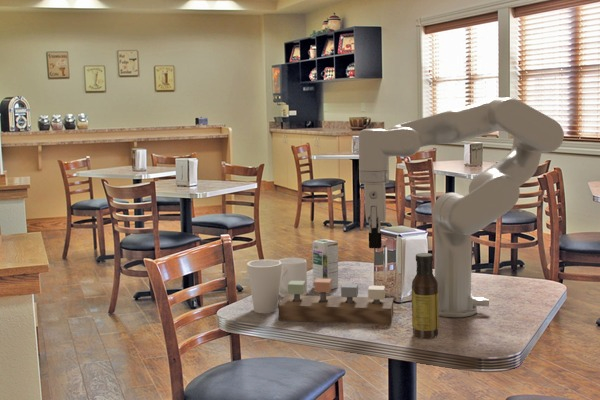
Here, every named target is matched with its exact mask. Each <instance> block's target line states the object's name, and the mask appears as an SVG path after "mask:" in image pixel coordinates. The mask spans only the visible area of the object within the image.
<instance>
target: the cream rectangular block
mask: <svg viewBox="0 0 600 400" xmlns="http://www.w3.org/2000/svg"><path fill="white" fill-rule="evenodd" d="M385 286H386V285H369V286H368V289H367V291H368V293H367V294H368V296H367V297H368V299H374V304H380V300H384V298H386V287H385Z"/></svg>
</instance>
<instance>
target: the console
mask: <svg viewBox="0 0 600 400" xmlns="http://www.w3.org/2000/svg"><path fill="white" fill-rule="evenodd" d="M277 309H278V321H288V322H290V321H293V322H315V323H316V322H320V323H326V322H327V323H353V324H381V325H392V322H393V321H392V320H393V317H394V297H384V300H380V304H374V299H368V296H366V297H365V296H363V297H362V296H357V297H353V303H347V297H341V296H336V295H335V296H333V295H331V296H330V295H329V296H328V295H326V303H323V302H320V295H305V296H300V302H294V295H286V296H285V297H284V298H283V297H282V300H281V301H280V303H278V307H277Z"/></svg>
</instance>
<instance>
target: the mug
mask: <svg viewBox="0 0 600 400" xmlns="http://www.w3.org/2000/svg"><path fill="white" fill-rule="evenodd" d="M278 261H281V263H282V272H281V278H280V288H279V297H280V298H282V299H283V298H284V297H285V296H286V295H294V294H288V283H289V282H290V281H305V285H306V291H305V292H304V294H300V296H307V294H308V282H307V281H308V277H307V276H308V275H307V272H308V271H307V269H308V268H307V259H305V258H302V257H285V258H281V259H278Z"/></svg>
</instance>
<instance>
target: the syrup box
mask: <svg viewBox="0 0 600 400" xmlns="http://www.w3.org/2000/svg"><path fill="white" fill-rule="evenodd" d="M311 242H312V244H311V245H312V288H313V289H314V282H315V280H316V279H317V278H320V279H332V289H331V290H334V289H337V288H339V241H338V240H337V241H336V240H331V239H326V238H320V239H315V240H313V241H311Z"/></svg>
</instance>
